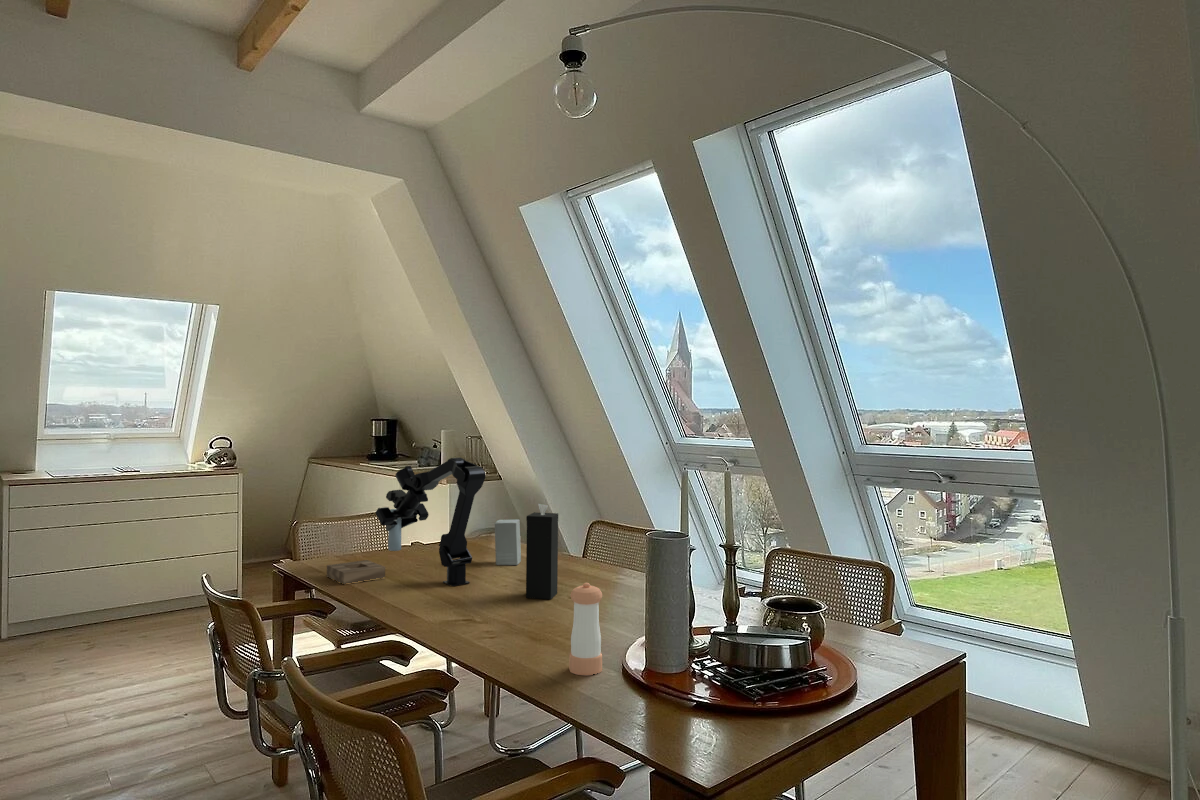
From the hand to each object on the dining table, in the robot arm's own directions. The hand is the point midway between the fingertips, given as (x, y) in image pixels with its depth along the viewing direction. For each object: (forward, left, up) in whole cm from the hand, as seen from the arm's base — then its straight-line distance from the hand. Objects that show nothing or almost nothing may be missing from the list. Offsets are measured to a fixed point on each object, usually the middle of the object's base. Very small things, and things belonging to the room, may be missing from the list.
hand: (392, 529), depth 274 cm
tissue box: (-65, -17, -14) cm, 69 cm away
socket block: (-8, +17, -13) cm, 23 cm away
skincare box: (-20, -35, -14) cm, 43 cm away
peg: (-1, 0, -7) cm, 7 cm away
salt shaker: (-123, +14, -14) cm, 125 cm away
